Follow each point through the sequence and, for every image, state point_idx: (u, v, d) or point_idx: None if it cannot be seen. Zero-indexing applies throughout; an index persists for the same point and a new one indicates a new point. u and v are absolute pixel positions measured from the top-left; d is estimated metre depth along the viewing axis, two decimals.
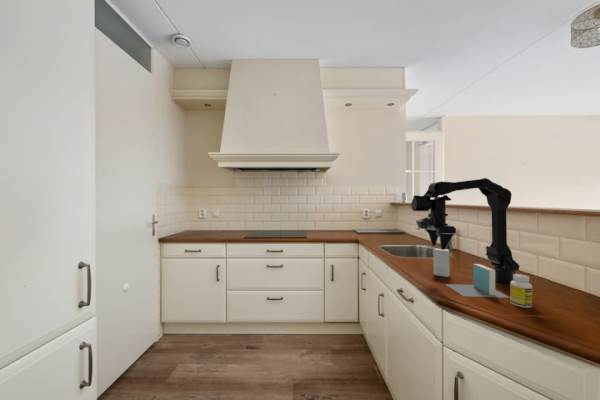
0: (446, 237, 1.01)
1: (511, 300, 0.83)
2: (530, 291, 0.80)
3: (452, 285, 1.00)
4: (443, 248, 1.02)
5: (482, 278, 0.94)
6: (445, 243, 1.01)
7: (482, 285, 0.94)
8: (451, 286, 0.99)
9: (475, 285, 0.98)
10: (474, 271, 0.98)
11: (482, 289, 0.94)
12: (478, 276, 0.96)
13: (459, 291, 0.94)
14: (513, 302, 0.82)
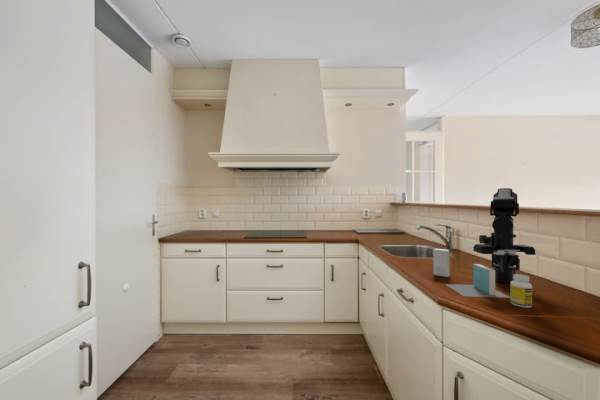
0: (500, 258, 0.94)
1: (511, 300, 0.83)
2: (530, 291, 0.80)
3: (452, 285, 1.00)
4: (501, 270, 0.94)
5: (482, 278, 0.94)
6: (501, 265, 0.94)
7: (482, 285, 0.94)
8: (451, 286, 0.99)
9: (475, 285, 0.98)
10: (474, 271, 0.98)
11: (482, 289, 0.94)
12: (478, 276, 0.96)
13: (459, 291, 0.94)
14: (513, 302, 0.82)
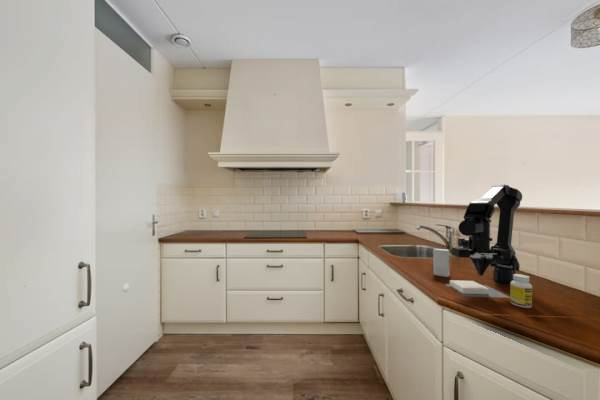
0: None
1: (511, 300, 0.83)
2: (530, 291, 0.80)
3: None
4: (478, 274, 0.95)
5: None
6: (478, 268, 0.94)
7: None
8: None
9: None
10: None
11: None
12: None
13: None
14: (513, 302, 0.82)
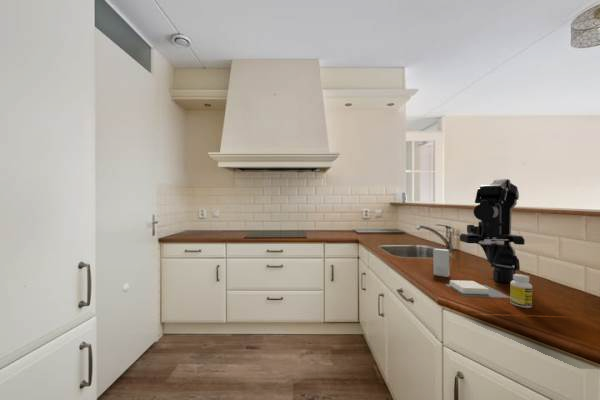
0: (487, 248, 0.89)
1: (511, 300, 0.83)
2: (530, 291, 0.80)
3: None
4: (489, 261, 0.90)
5: None
6: (488, 255, 0.89)
7: None
8: None
9: None
10: None
11: None
12: None
13: None
14: (513, 302, 0.82)
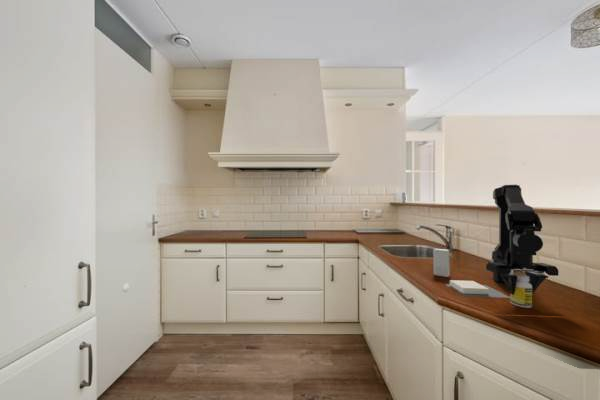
0: (509, 279, 0.82)
1: (511, 300, 0.83)
2: (530, 291, 0.80)
3: None
4: (510, 292, 0.83)
5: None
6: (510, 286, 0.82)
7: None
8: None
9: None
10: None
11: None
12: None
13: None
14: (513, 302, 0.82)
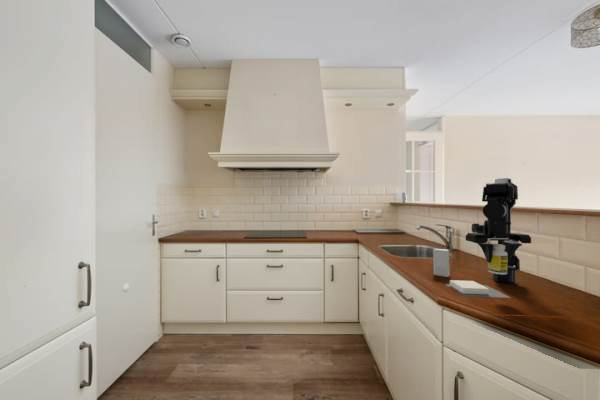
0: (486, 248, 0.87)
1: (488, 268, 0.88)
2: (505, 258, 0.85)
3: None
4: (488, 260, 0.88)
5: None
6: (487, 255, 0.87)
7: None
8: None
9: None
10: None
11: None
12: None
13: None
14: (490, 269, 0.87)
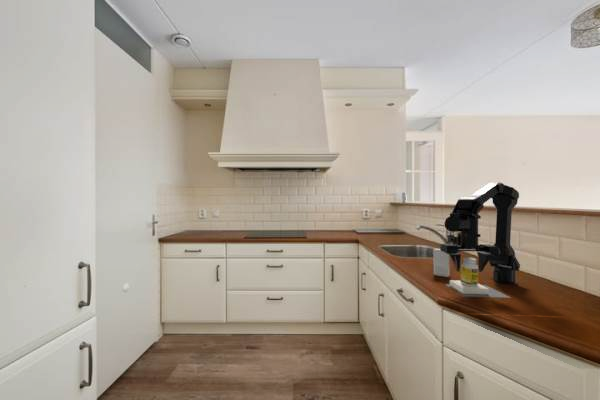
0: (455, 258, 0.95)
1: (461, 280, 0.96)
2: (476, 271, 0.92)
3: None
4: (456, 269, 0.95)
5: None
6: (455, 264, 0.95)
7: None
8: None
9: None
10: None
11: None
12: None
13: None
14: (462, 281, 0.95)
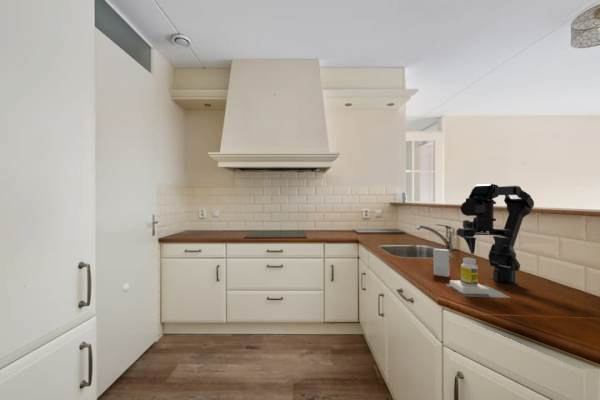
0: (470, 241, 1.00)
1: (461, 280, 0.96)
2: (476, 271, 0.92)
3: None
4: (471, 252, 1.01)
5: None
6: (470, 247, 1.00)
7: None
8: None
9: None
10: None
11: None
12: None
13: None
14: (462, 281, 0.95)
